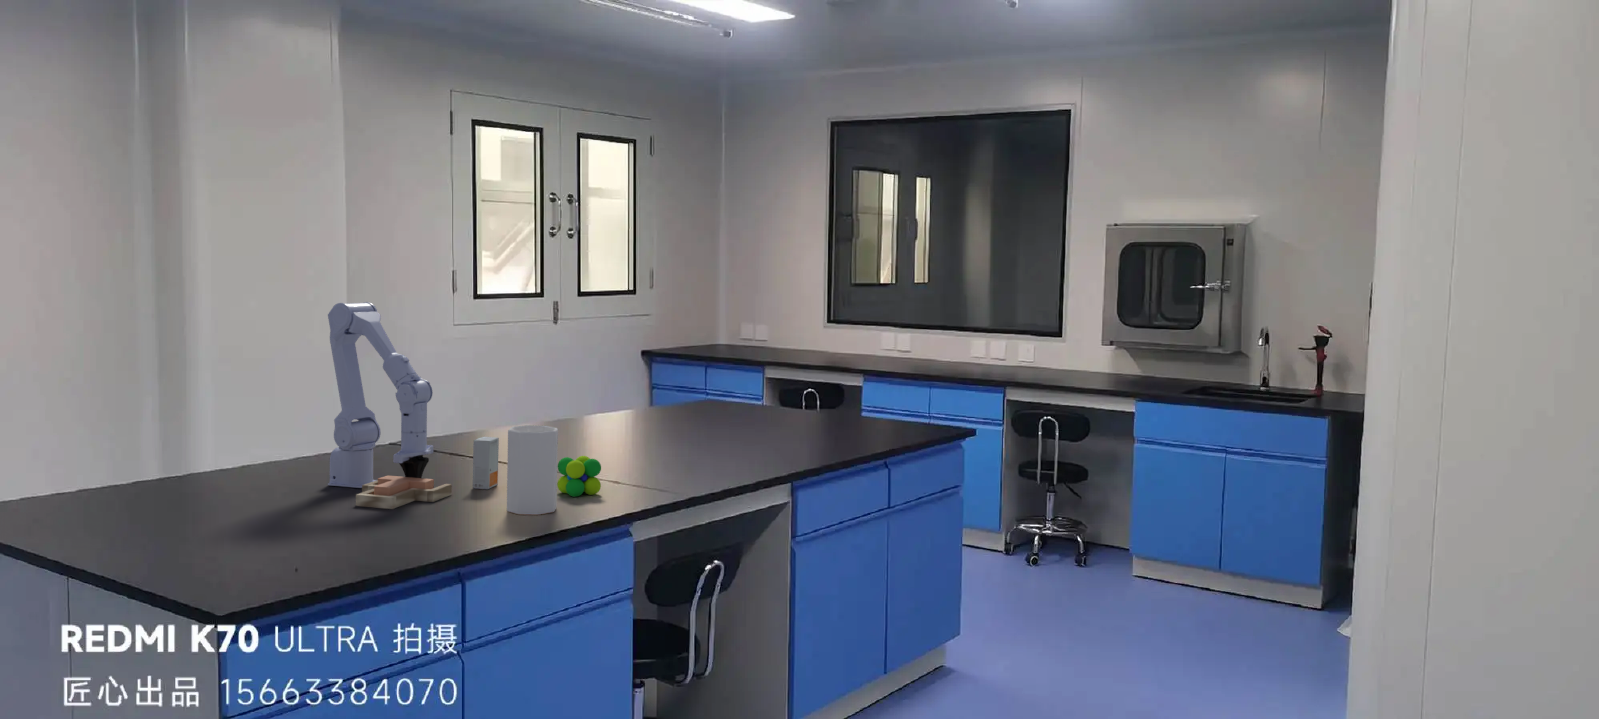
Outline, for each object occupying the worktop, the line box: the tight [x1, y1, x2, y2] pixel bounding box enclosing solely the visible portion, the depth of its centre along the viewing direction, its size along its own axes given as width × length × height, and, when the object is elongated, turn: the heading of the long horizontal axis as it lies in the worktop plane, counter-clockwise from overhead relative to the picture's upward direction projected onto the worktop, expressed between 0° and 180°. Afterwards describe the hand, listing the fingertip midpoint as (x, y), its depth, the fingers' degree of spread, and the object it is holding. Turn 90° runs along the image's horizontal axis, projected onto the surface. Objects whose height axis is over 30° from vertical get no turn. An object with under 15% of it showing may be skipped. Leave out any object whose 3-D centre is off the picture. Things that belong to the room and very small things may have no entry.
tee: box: [374, 475, 435, 496], centre depth 263 cm, size 12×12×4 cm
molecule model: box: [557, 455, 602, 498], centre depth 276 cm, size 9×9×9 cm
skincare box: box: [472, 436, 500, 490], centre depth 279 cm, size 6×4×12 cm
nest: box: [355, 479, 453, 510], centre depth 263 cm, size 18×18×2 cm
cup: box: [506, 424, 559, 516], centre depth 256 cm, size 11×11×18 cm
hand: (413, 488), depth 270 cm, fingers closed
